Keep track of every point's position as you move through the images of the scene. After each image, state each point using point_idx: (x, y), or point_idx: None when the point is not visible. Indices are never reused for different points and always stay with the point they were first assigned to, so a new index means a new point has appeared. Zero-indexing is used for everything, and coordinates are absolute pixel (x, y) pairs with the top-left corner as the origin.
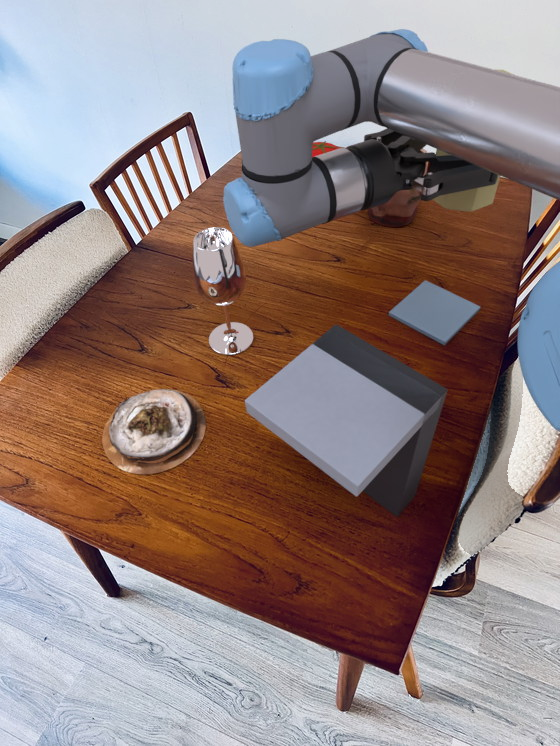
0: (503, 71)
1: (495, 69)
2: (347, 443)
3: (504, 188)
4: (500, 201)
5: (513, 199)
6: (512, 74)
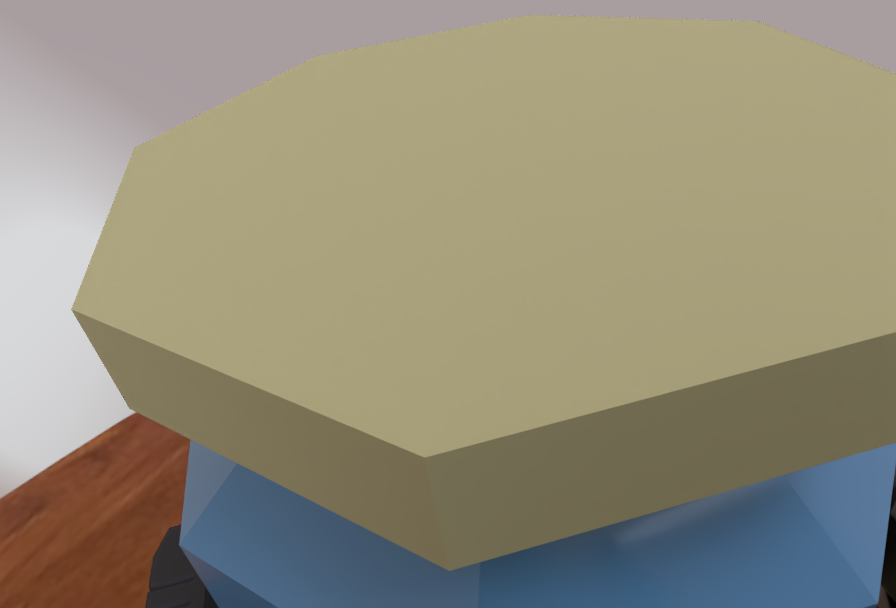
0: (344, 56)
1: (277, 76)
2: None
3: (136, 442)
4: (172, 469)
5: (186, 441)
6: (425, 37)
